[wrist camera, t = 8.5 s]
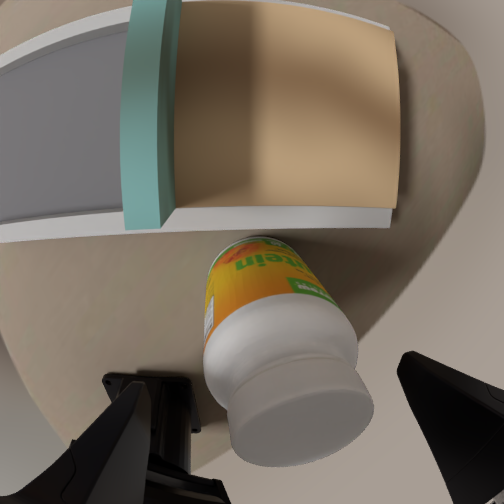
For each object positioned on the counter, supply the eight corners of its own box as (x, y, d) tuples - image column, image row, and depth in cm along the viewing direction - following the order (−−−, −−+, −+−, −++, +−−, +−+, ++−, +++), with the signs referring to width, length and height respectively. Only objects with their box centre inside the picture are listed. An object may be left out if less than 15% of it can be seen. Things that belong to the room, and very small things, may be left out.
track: (370, 218, 15) (392, 229, 13) (8, 233, 12) (-12, 244, 10) (371, 37, 11) (391, 25, 9) (8, 66, 8) (-11, 60, 6)
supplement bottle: (312, 239, 15) (429, 353, 6) (293, 324, 16) (355, 462, 7) (210, 229, 14) (205, 368, 5) (203, 320, 15) (202, 478, 6)
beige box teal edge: (369, 198, 13) (439, 225, 8) (161, 199, 12) (125, 230, 7) (368, 45, 10) (432, 12, 5) (165, 27, 9) (141, -34, 4)
